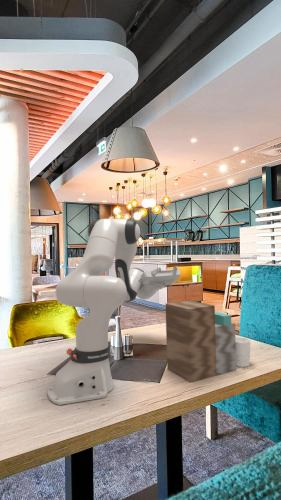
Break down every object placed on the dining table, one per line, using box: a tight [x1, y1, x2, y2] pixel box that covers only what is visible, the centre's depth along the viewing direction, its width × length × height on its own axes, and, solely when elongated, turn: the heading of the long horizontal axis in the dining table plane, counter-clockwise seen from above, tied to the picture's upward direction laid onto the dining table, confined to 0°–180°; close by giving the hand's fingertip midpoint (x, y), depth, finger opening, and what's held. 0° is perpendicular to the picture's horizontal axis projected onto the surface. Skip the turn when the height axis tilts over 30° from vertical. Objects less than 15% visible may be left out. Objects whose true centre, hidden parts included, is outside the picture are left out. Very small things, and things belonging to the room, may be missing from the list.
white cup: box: [235, 336, 251, 368], centre depth 131 cm, size 8×8×10 cm
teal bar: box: [215, 311, 232, 326], centre depth 133 cm, size 4×24×4 cm, turn 28°
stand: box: [165, 300, 237, 383], centre depth 126 cm, size 22×15×26 cm
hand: (168, 268), depth 151 cm, fingers open, 8 cm apart
